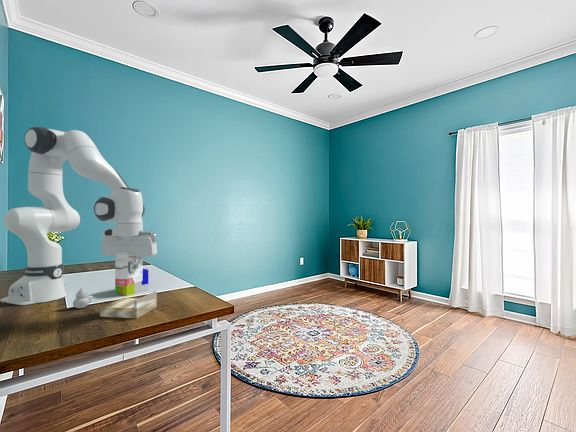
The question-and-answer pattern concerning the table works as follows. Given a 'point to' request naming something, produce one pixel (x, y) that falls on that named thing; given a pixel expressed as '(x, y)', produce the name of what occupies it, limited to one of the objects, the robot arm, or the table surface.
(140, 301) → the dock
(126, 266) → the ink box
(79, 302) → the grey tiered figurine
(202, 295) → the table surface
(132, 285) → the puzzle toy
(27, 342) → the table surface
